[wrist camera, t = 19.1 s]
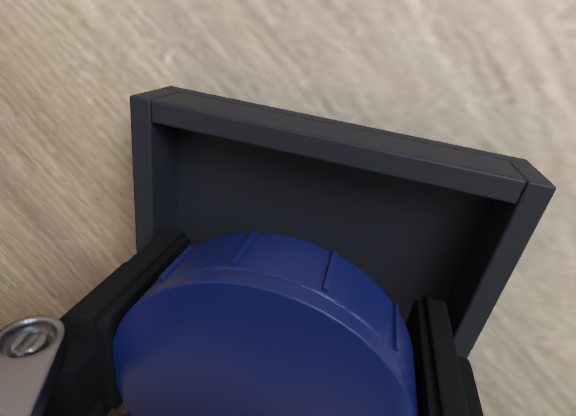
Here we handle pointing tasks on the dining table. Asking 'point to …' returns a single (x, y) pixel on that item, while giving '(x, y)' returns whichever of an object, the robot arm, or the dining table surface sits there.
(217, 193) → the tray
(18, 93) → the dining table surface
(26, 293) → the dining table surface
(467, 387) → the robot arm
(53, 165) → the dining table surface
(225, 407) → the lid
